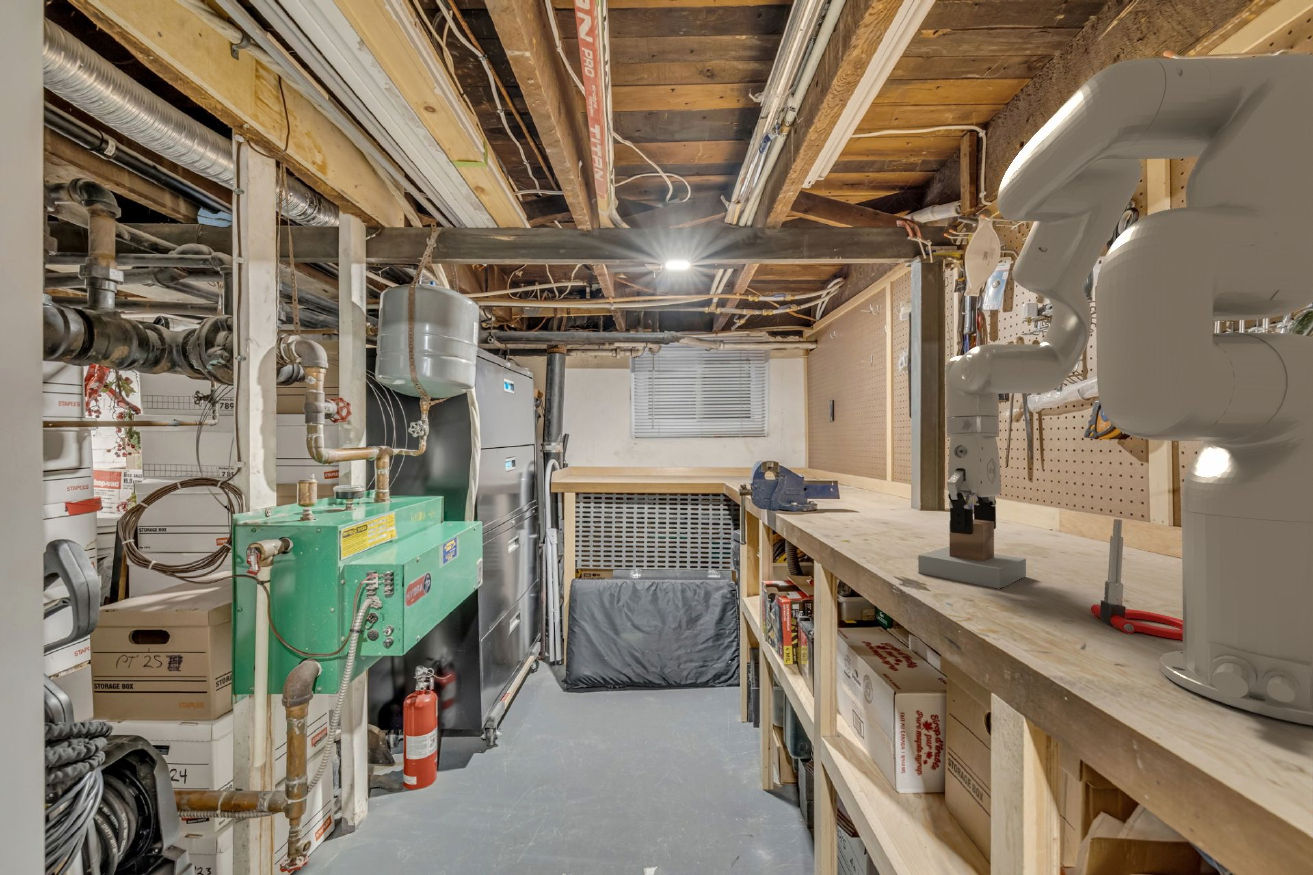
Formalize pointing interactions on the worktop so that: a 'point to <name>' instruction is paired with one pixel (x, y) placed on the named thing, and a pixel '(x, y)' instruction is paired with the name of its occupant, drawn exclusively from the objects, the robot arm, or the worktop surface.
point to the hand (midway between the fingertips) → (973, 530)
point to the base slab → (973, 568)
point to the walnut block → (974, 542)
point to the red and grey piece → (1112, 602)
